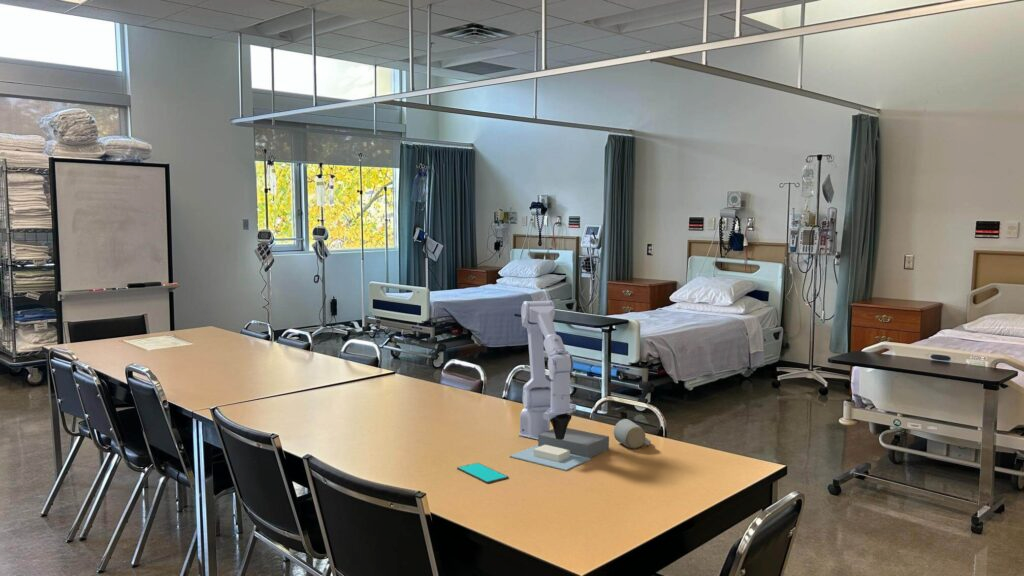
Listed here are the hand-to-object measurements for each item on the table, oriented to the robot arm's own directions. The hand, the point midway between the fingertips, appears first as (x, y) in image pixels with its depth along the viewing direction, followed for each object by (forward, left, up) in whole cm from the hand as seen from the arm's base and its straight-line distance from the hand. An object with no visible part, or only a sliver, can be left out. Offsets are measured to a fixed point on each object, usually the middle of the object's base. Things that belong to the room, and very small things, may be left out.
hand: (559, 438), depth 222 cm
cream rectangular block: (0, -4, -2) cm, 5 cm away
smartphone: (-7, -27, -5) cm, 29 cm away
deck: (0, +8, -5) cm, 9 cm away
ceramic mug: (+13, +22, -5) cm, 26 cm away
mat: (0, -5, -5) cm, 7 cm away
